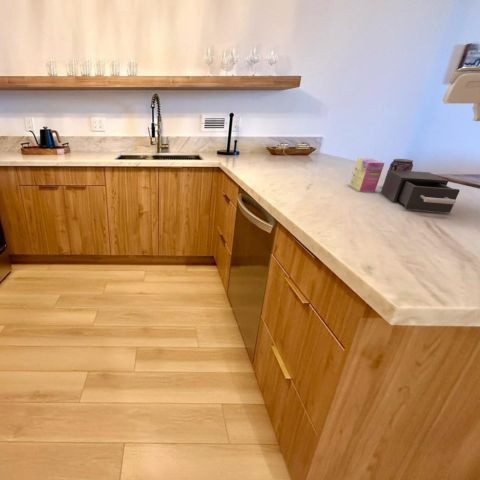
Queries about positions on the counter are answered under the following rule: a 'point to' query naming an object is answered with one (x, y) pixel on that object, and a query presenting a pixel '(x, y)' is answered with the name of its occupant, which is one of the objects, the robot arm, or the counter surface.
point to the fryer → (397, 177)
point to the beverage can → (401, 165)
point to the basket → (427, 196)
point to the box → (366, 174)
